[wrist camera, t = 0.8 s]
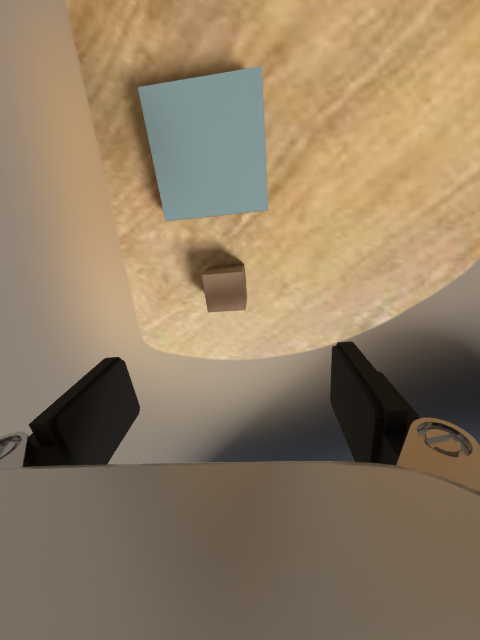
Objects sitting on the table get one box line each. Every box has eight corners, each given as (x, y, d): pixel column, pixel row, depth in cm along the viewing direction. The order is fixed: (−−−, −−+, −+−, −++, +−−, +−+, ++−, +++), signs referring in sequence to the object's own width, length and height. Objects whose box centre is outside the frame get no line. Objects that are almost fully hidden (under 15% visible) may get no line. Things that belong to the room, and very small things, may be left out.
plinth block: (154, 104, 26) (137, 87, 23) (261, 87, 25) (261, 66, 22) (176, 220, 31) (165, 221, 28) (266, 210, 30) (268, 210, 26)
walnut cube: (209, 266, 34) (201, 275, 29) (244, 263, 33) (241, 271, 29) (214, 299, 36) (207, 312, 31) (247, 297, 35) (245, 310, 31)
